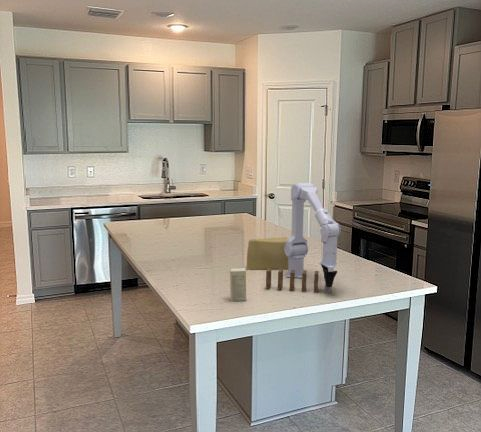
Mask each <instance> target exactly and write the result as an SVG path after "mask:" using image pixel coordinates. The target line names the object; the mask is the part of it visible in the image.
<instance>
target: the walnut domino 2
mask: <svg viewBox="0 0 481 432" xmlns="http://www.w3.org/2000/svg"><path fill="white" fill-rule="evenodd" d="M283 284H284V269H278V272H277V291H280V292H282V290H283V288H284V287H283V286H284V285H283Z"/></svg>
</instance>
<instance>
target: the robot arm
mask: <svg viewBox="0 0 481 432" xmlns="http://www.w3.org/2000/svg"><path fill="white" fill-rule="evenodd" d="M290 189H291V190H290V201H292V204H291V234H290V237H289V238H288V239H287V240H286V244H285V248H284V251H285V254H286V256H287V257H288V269H287V273H286V276H285V277H286V278H290V271H291V269H292V270H295V279H297V278H298V279H302V272H303V270H305V268H304V266H305V265H304V264H305V259H304V258H306V255H308V253H309V246H308V240H307V239H306V238H305V237H304V210H305V209H304V207H305V205H304V204H305V202H307V201H308V203H309V204H310V206H311V207H312V209H313V211H314V212H315V213H314V217H315V219H316V221H317V223H318V225H319V227H320V235H321V241H322V260H321V261H319V262H318V264H319V265H320V266H321V268H322V272H323V277H324V278H323V279H324V280H325V279H326V286H327V287H331V288H332V287H333V284H334V280H335V277H336V276H337V274H338V270H334V269H335V267H336V266H337V256H338V255H337V254H338V253H337V252H338V237H339V236H340V235H341V231H342V229H341V225H340V223H338V222H336V221H335V220H334V219H333V218H332V216H331V214H330V213H329V211H328V209H327V208H324V207H323V205H322V203H321V201H320V198H319V195H318V187H317V185H316V184H315V182H302V183H300V182H299V183H298V182H295V183H293V185H291V188H290Z"/></svg>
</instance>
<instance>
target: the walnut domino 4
mask: <svg viewBox="0 0 481 432" xmlns="http://www.w3.org/2000/svg"><path fill="white" fill-rule="evenodd" d="M307 272H308V270H307V269H306V270H305V269H303V272H302V278H301V293H306V291H307V275H308V273H307Z"/></svg>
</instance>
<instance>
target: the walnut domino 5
mask: <svg viewBox="0 0 481 432" xmlns="http://www.w3.org/2000/svg"><path fill="white" fill-rule="evenodd" d="M313 274H314V277H313V278H314V279H313V294H314V293H315V294H318V293H319V274H320V272H319V270H314V273H313Z"/></svg>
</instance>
